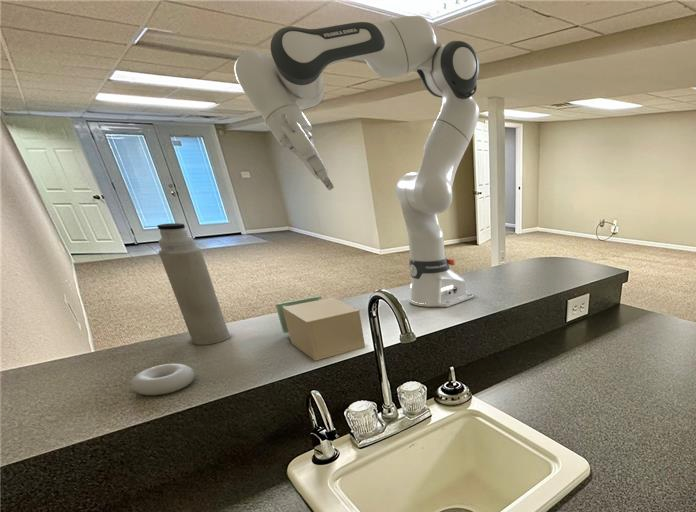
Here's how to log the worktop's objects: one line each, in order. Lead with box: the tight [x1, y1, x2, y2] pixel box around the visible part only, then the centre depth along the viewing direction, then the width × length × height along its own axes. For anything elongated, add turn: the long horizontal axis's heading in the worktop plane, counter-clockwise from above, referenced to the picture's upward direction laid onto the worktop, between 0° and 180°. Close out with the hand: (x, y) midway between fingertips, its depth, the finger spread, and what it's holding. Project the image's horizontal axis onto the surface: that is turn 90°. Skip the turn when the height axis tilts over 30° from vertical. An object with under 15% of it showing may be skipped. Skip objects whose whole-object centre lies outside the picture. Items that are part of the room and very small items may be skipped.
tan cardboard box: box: [282, 297, 366, 362], centre depth 101 cm, size 15×13×10 cm
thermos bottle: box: [157, 222, 230, 346], centre depth 98 cm, size 8×8×28 cm
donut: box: [130, 363, 195, 396], centre depth 82 cm, size 10×4×10 cm
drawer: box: [275, 295, 323, 334], centre depth 107 cm, size 18×11×8 cm, turn 46°
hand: (328, 183), depth 102 cm, fingers open, 8 cm apart
